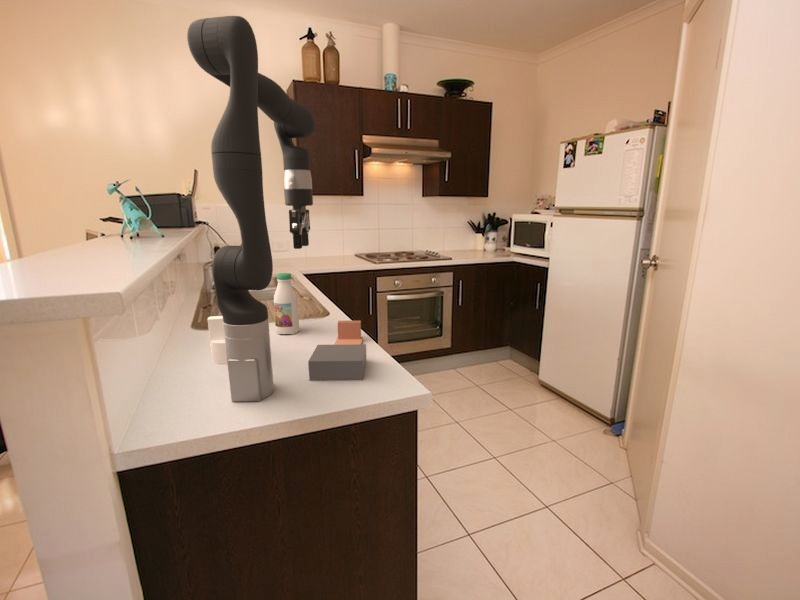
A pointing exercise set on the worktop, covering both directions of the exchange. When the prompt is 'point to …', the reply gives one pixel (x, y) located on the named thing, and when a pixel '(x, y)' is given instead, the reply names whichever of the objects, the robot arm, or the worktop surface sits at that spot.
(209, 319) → the base with upright slab
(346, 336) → the peach l-shaped block
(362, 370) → the grey square block
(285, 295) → the milk bottle
